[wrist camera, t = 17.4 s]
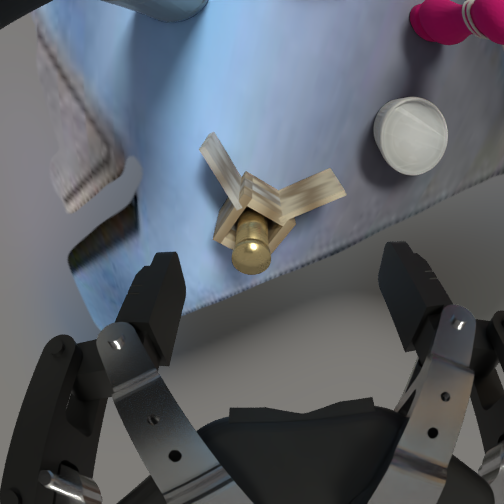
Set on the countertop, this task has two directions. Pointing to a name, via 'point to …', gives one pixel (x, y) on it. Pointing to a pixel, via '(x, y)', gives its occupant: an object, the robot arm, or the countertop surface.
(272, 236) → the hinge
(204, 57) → the countertop surface
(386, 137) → the ramekin
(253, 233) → the brass peg
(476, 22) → the pepper mill
